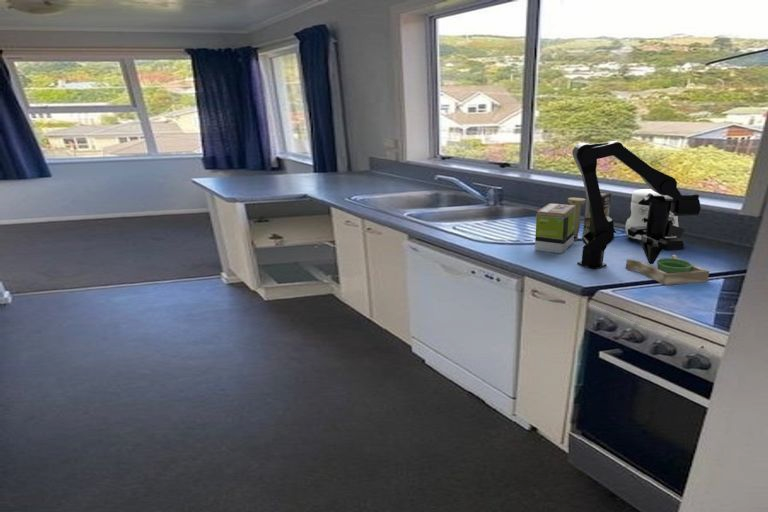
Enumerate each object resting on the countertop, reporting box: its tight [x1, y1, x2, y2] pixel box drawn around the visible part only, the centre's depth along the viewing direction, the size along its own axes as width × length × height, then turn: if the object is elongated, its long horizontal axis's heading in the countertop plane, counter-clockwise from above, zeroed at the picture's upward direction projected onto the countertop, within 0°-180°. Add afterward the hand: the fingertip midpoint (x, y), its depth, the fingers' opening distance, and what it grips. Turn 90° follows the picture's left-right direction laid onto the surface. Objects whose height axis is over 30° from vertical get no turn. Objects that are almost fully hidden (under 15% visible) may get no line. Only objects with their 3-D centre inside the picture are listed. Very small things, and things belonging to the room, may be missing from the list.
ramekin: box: [656, 257, 693, 274], centre depth 142 cm, size 9×9×4 cm
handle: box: [567, 197, 587, 238], centre depth 184 cm, size 5×6×15 cm
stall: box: [625, 254, 710, 286], centre depth 144 cm, size 16×17×3 cm
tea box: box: [534, 202, 576, 254], centre depth 172 cm, size 15×10×15 cm
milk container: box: [625, 188, 680, 242], centre depth 176 cm, size 17×17×18 cm
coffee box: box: [582, 191, 612, 236], centre depth 186 cm, size 9×6×16 cm
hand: (651, 263), depth 151 cm, fingers closed
